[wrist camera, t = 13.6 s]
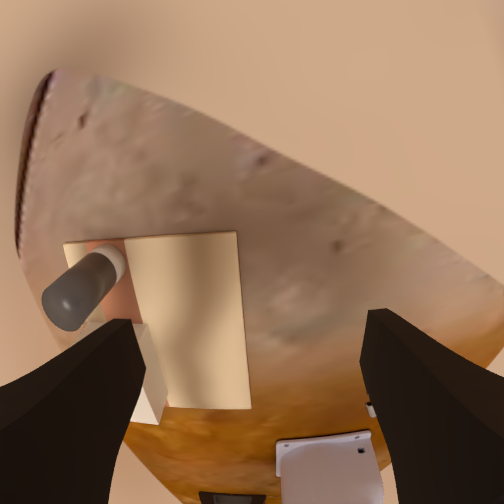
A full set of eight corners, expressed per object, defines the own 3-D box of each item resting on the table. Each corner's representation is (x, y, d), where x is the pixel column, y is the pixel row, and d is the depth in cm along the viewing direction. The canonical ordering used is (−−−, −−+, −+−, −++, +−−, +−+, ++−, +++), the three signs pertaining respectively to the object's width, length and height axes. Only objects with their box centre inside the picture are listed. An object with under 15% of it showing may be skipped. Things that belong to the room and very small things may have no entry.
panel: (236, 231, 18) (235, 233, 18) (251, 405, 23) (251, 408, 23) (65, 242, 18) (62, 244, 18) (120, 398, 24) (118, 401, 23)
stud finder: (147, 324, 20) (129, 358, 16) (168, 392, 22) (157, 427, 19) (88, 321, 20) (65, 351, 17) (115, 387, 23) (100, 418, 19)
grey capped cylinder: (118, 239, 18) (68, 282, 12) (131, 277, 19) (90, 329, 13) (86, 248, 18) (34, 290, 12) (100, 283, 19) (55, 332, 13)
